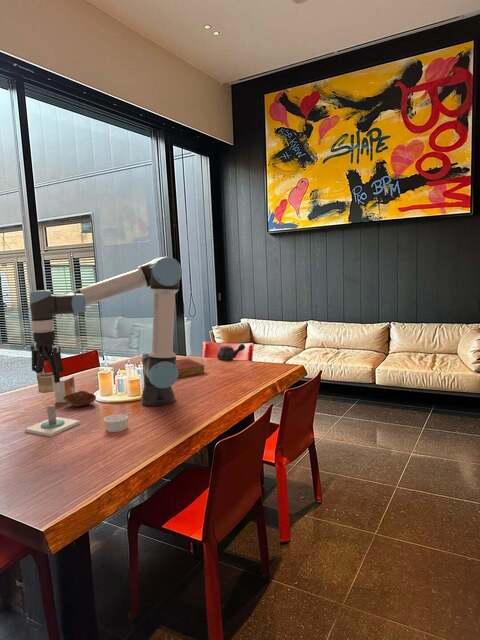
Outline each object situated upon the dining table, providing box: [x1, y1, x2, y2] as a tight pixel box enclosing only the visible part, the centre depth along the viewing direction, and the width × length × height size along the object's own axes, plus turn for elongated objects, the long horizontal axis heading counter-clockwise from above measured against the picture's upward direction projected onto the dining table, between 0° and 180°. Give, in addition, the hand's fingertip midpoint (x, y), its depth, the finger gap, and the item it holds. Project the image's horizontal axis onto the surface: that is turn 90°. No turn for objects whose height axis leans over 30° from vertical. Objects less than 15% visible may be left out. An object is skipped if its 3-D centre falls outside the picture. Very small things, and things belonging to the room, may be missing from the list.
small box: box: [54, 376, 76, 404], centre depth 202 cm, size 8×6×10 cm
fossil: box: [63, 389, 97, 408], centre depth 192 cm, size 13×8×10 cm
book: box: [176, 358, 205, 379], centre depth 246 cm, size 30×24×5 cm
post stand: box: [24, 404, 81, 438], centre depth 167 cm, size 14×14×9 cm
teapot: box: [216, 343, 246, 361], centre depth 277 cm, size 19×15×10 cm
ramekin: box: [103, 413, 129, 433], centre depth 163 cm, size 9×9×4 cm
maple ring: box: [36, 372, 54, 394], centre depth 165 cm, size 7×7×6 cm
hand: (49, 389), depth 166 cm, fingers closed on maple ring, 7 cm apart
